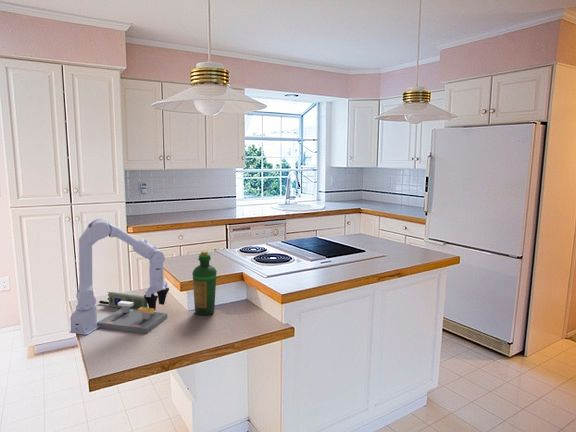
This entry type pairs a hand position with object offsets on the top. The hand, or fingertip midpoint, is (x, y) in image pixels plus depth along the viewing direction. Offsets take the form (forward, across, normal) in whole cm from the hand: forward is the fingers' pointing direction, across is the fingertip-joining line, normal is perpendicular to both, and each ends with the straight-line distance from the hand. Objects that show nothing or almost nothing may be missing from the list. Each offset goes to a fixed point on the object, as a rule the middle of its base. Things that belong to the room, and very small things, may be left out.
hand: (157, 307), depth 173 cm
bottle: (+4, +9, -18) cm, 21 cm away
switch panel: (+4, -9, +6) cm, 11 cm away
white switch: (+2, -5, +12) cm, 13 cm away
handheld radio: (+4, +5, +20) cm, 21 cm away
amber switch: (+2, -9, 0) cm, 9 cm away
